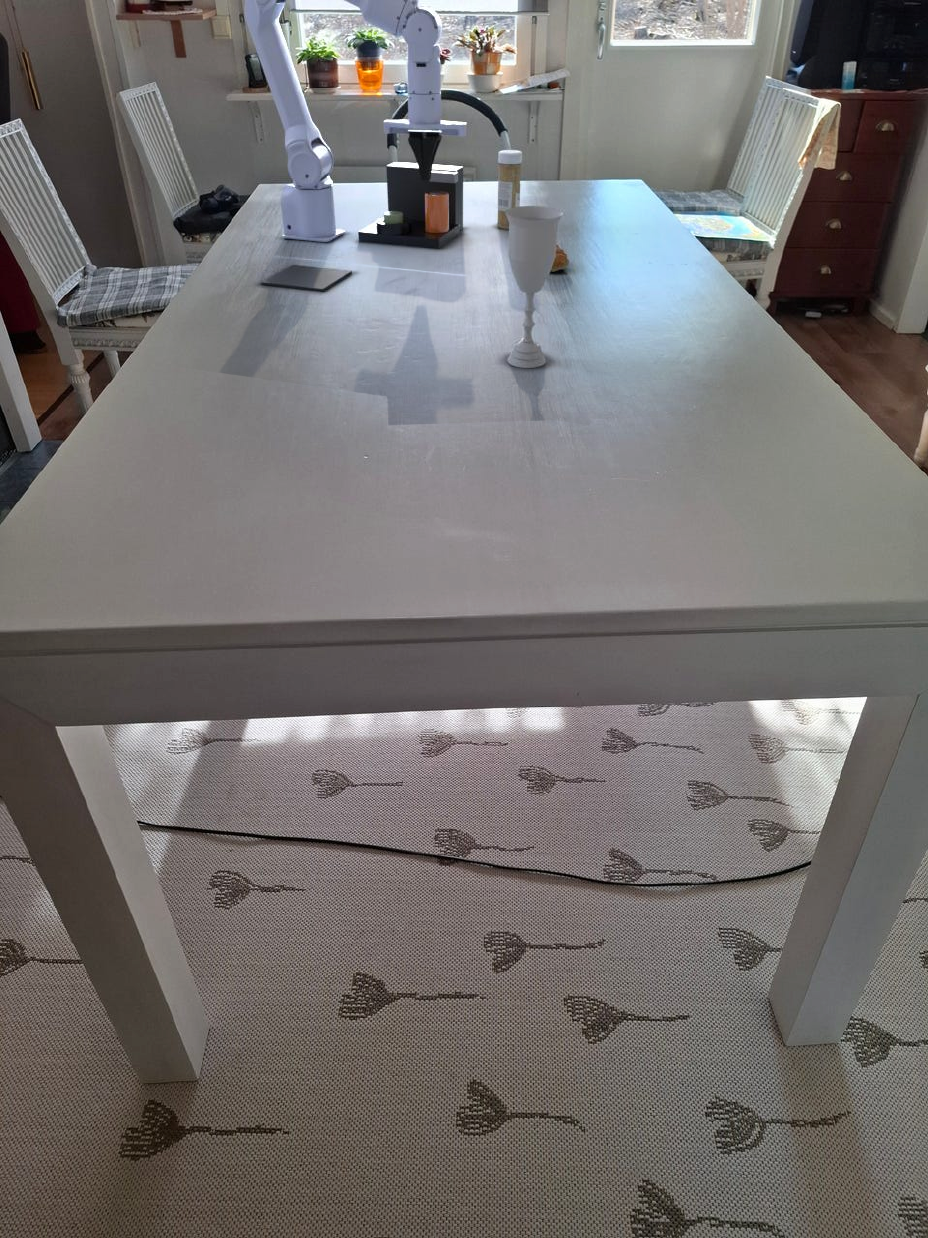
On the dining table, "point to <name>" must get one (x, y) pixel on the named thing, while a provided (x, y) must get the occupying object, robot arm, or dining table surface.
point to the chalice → (531, 269)
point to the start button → (393, 217)
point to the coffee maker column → (424, 190)
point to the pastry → (560, 260)
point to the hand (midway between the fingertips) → (425, 179)
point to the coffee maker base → (407, 234)
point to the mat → (307, 278)
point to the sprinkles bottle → (508, 184)
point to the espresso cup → (437, 211)
